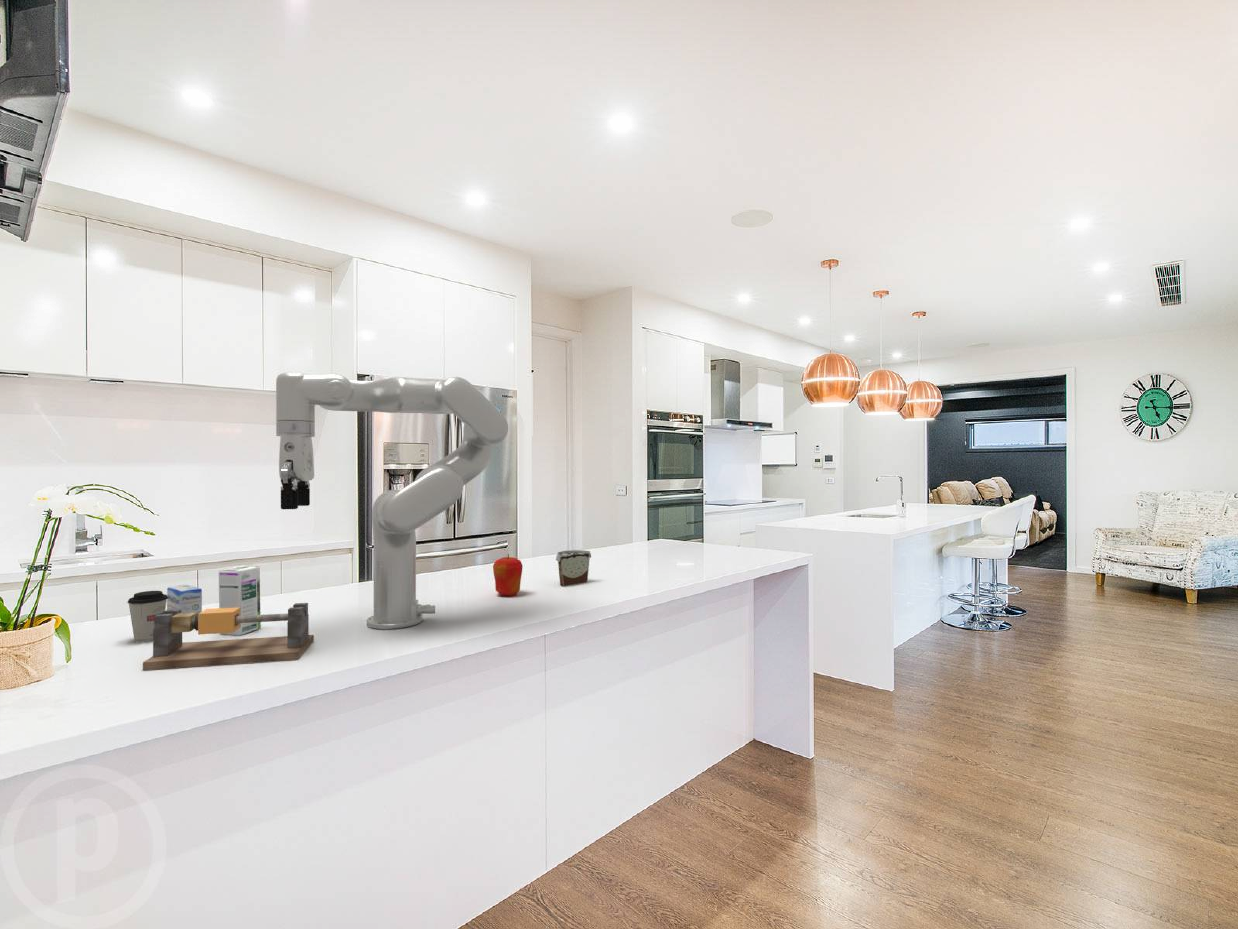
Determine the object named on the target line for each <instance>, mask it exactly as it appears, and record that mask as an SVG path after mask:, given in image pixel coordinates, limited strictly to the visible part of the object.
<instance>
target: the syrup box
mask: <svg viewBox="0 0 1238 929" xmlns="http://www.w3.org/2000/svg"><path fill="white" fill-rule="evenodd" d="M260 568H261V567H260V566H257V565H238V566H235V567H230V568H225V569H220V570H218V606H219V607H218V608H236V607H241V616H249V615H261V575H260V574H261V572H260V570H261V569H260ZM261 623H262V622H252V623H241V627H240V628H239V629H237V630H236V631H235V632H233V633H219V634H220V635H224V636H225V635H227V636H243V635H245V634H247V633H251V632H254V631H257V630H260V629H261V626H262V625H261Z"/></svg>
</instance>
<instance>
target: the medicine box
mask: <svg viewBox="0 0 1238 929" xmlns="http://www.w3.org/2000/svg"><path fill="white" fill-rule="evenodd" d="M166 592H167V594H166V595H167V597H168V599H167V601H166V610H172V609H181V613H201V612H202V611H203V608H202V607H203V590H202V588H199V587H196V586H193V585H189V584H181V585H174V586H173V585H172V586H168V587H167V591H166Z"/></svg>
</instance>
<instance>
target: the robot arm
mask: <svg viewBox="0 0 1238 929" xmlns="http://www.w3.org/2000/svg"><path fill="white" fill-rule="evenodd" d="M275 381H276V382H275V386H276V387H275V396H276V397H275V402H276V403H275V404H276V405H275V407H276V408H275V412H276V413H275V417H276V418H275V419H276V420H275V424H276V426H275V427H276V428H275V429H276V431H275V432H276V437H280V439H279V441H280V442H279V453H278V454H279V456H278V457H279V460H278V473H279V479H280V484H281V485H280V509H281V510H297V509H298V508H299V507H304V506H305V507H308V506H310V504H311V503H310V502H311V498H310V497H311V492H310V491H311V489H310V486H311V485H310V481H313V479H314V478H315V466H314V465H315V461H314V448H313V438H315V436H316V428H315V427H316V426H315V425H316V423H315V419H316V418H315V416H316V414H315V412H316V411H315V409H316V407H315V406H320V408H323V409H324V410H327V411H331V412H332V411H334V412H364V413H365V412H368V413H371V412H372V413H375V412H376V413H388V414H397V413H399V414H430V415H431V414H432V415H452V414H453V415H454V416H455V417H457V419H458V420H460V421H461V423H463V424H464V425H463V428H462V430H463V432H462V433H463V434H462V435H463V436H462V441H461V443H460V445H459V446H458V447H457V448H456V449H455V450H453V451H451V453H449V454H447V455H446V456H445V457H443V458H441V459H439V460H438V461H436V462H435V463H433V464H431V465H429V466H427V467H425V468H424V469H422V470H421V471H420V472H419V473H418V474H417V475H416V477H415V478H414V481H412V482H410V483H409V484H408V485H406V486H404V487H403V488H401V489H389V490H386V491H384V492H382V493H381V494H380V495H379V496H377V498H375V500H374V503H373V506H372V509H371V522H372V536H373V615H371V616H369V617H368V618H367V619H366V626H367V627H369V628H373V629H376V630H377V629H379V630H390V629H391V630H394V629H401V628H402V629H403V628H408V627H412V626H414V625H418V624H420V623H421V622H423V619H424V617H423V616H424V615H423V614H425V615H426V614H427V615H430V614H431V615H432V614H435V615H436V605H435V604H434V605H433V604H432V605H431V604H421V603H419V599H417V539H416V538H417V536H416V530H417V529H419V528H421V527H422V526H424V525H425V524H427V523H428V522H430V521H431V520H432V519H434V518H435V517H437V516H439V515H440V514H442V513H444V512H445V511H446V510H447V509H449V508H451V506H453V505H454V504H456V502H457V501H458V500H459V499H460V497H461V496H462V494H463V492H464V490H463V489H464V486H466V485H467V484H468V483H470V482H471V481H473V480H474V479H475V478H477V477H478V476H479V475H481V473H483V471H485V469H486V468H487V467H488V465H489V463H490V460H491V459H492V458H491V457H492V454H493V450H494V448H493V447H494V445H498V444H501V443H502V442H503V441H504V440H505V439H506V438H507V436H508V433H509V424H508V421H507V417H505V415H504V414H503V413H502V412H501V410H499V408H497V407H496V406H495V404H493V403H492V402H491V401H490V400H489V399H488V398H487V397H486V396H484V394H483V393H482V392H481V391H479V389H478V388H477V387H475V386H474V385H473V384H472V383H471V381H469V380H466V379H465V378H463V377H460V376H459V377H458V376H452V377H449V378H447V379H440V378H439V379H438V378H437V379H436V378H422V377H421V378H418V377H415V378H414V377H403V376H398V377H397V376H396V377H390V378H389V377H388V378H384V379H378V380H377V379H376V380H349V378H347V377H346V376H344V375H341V374H337V373H325V374H324V373H323V374H306V373H300V372H283V373H280V374H278V375H277V377H276V380H275Z"/></svg>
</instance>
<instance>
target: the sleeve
mask: <svg viewBox="0 0 1238 929" xmlns="http://www.w3.org/2000/svg"><path fill="white" fill-rule="evenodd" d="M235 616H241V607H236V608H219V607H218V608H206V609H204V610H202V612H201V613H199V614H198V631H197V635H214V634H215V635H216V634H220V633H233V632H235V631H236V630H237V629H239V628H240V627H241V623H235Z"/></svg>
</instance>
